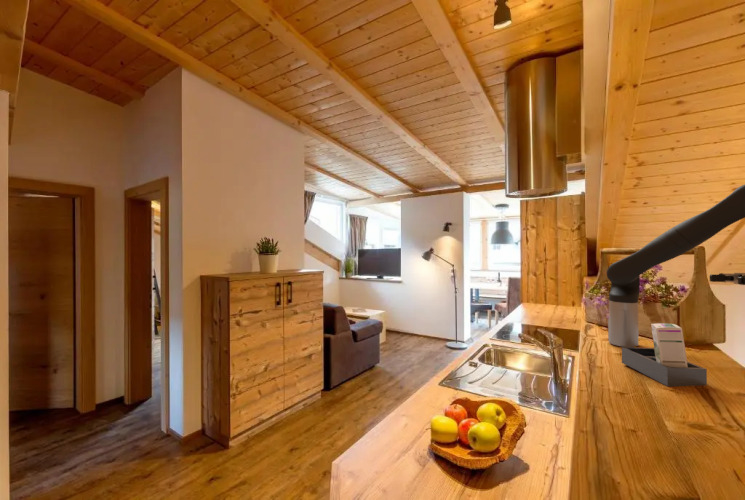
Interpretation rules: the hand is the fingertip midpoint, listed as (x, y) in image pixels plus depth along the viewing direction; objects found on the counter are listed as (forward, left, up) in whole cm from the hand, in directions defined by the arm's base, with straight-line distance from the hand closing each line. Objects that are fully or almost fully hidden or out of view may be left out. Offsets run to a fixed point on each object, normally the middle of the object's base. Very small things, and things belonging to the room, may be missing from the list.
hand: (724, 279), depth 95 cm
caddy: (+1, -19, -28) cm, 34 cm away
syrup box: (+6, -19, -27) cm, 33 cm away
